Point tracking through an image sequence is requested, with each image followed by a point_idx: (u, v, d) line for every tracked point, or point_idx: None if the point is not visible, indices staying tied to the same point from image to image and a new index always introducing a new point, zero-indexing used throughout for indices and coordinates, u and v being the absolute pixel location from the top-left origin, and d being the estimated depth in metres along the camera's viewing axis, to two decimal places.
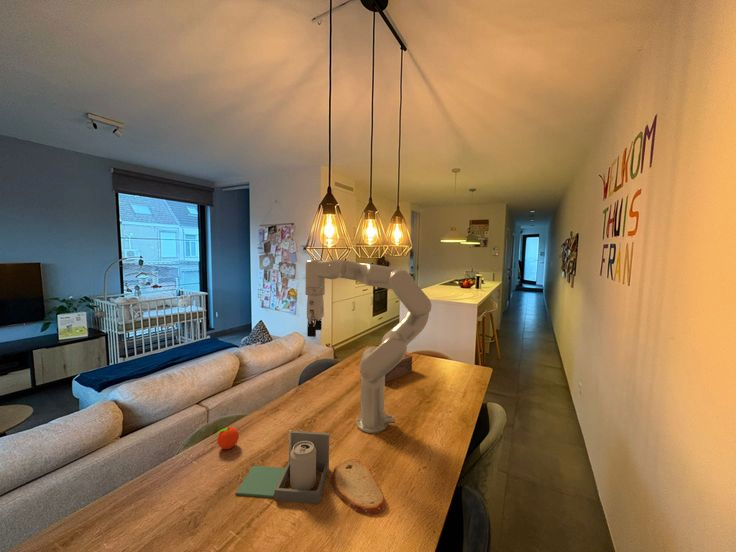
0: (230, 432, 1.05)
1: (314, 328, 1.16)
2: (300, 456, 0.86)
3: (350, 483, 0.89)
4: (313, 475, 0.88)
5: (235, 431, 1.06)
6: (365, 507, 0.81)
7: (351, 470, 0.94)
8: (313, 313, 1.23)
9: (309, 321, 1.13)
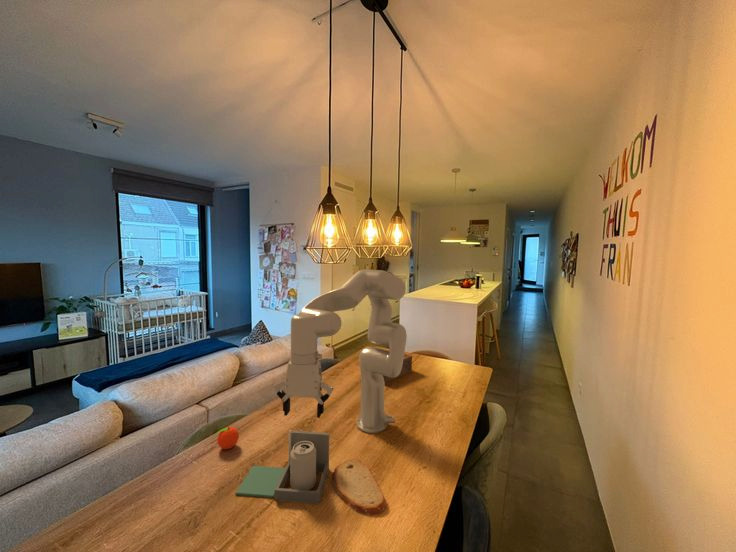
0: (230, 432, 1.05)
1: None
2: (300, 456, 0.86)
3: (351, 483, 0.89)
4: (313, 475, 0.88)
5: (235, 431, 1.06)
6: (364, 507, 0.81)
7: (352, 470, 0.94)
8: None
9: (330, 394, 0.87)
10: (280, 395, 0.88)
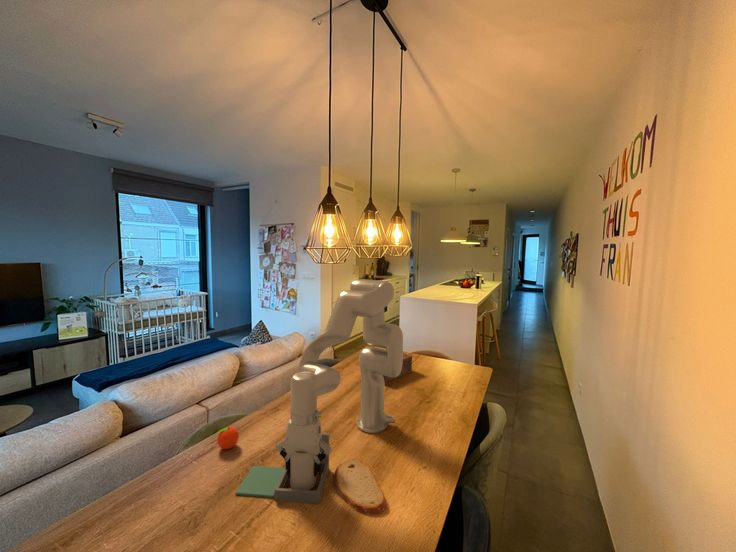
0: (230, 432, 1.05)
1: None
2: (300, 456, 0.86)
3: (352, 482, 0.89)
4: (313, 475, 0.88)
5: (235, 431, 1.06)
6: (364, 507, 0.81)
7: (353, 469, 0.95)
8: None
9: (327, 453, 0.89)
10: (283, 454, 0.89)
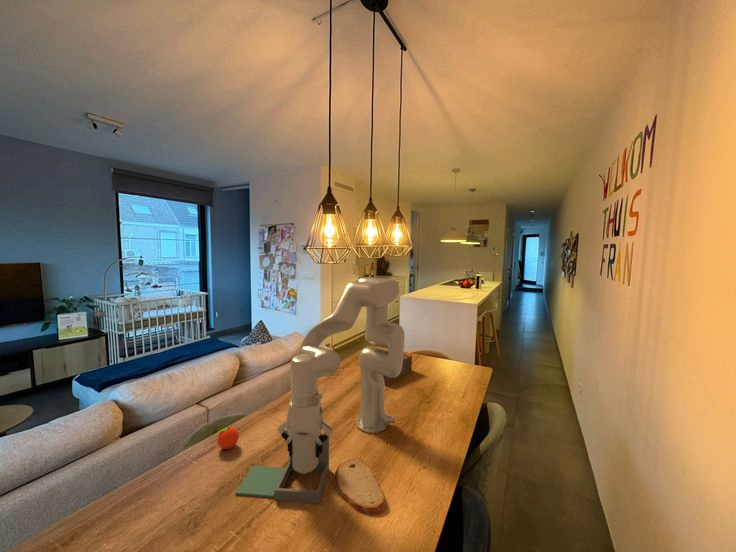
0: (230, 432, 1.05)
1: None
2: (302, 437, 0.86)
3: (352, 482, 0.89)
4: (315, 456, 0.89)
5: (235, 431, 1.06)
6: (364, 507, 0.81)
7: (354, 469, 0.95)
8: None
9: None
10: (284, 436, 0.89)
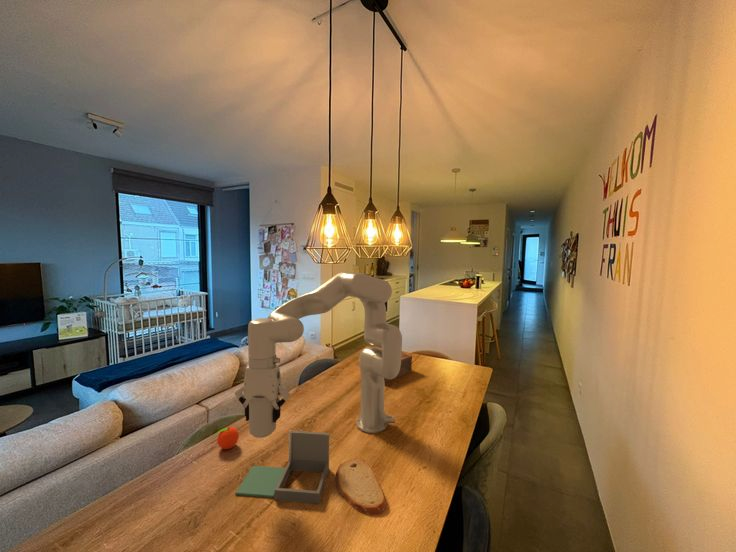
0: (230, 432, 1.05)
1: None
2: (258, 400, 0.86)
3: (353, 482, 0.89)
4: (272, 421, 0.88)
5: (235, 431, 1.06)
6: (364, 507, 0.81)
7: (355, 469, 0.95)
8: None
9: (286, 399, 0.89)
10: (242, 401, 0.89)
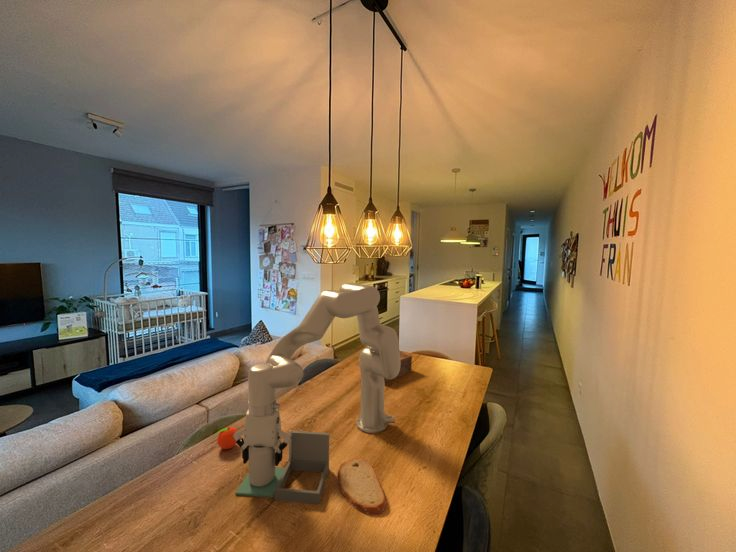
0: (230, 432, 1.05)
1: None
2: (257, 450, 0.87)
3: (354, 481, 0.90)
4: (271, 469, 0.89)
5: (235, 431, 1.06)
6: (364, 506, 0.81)
7: (357, 468, 0.95)
8: None
9: (288, 442, 0.90)
10: (239, 443, 0.90)
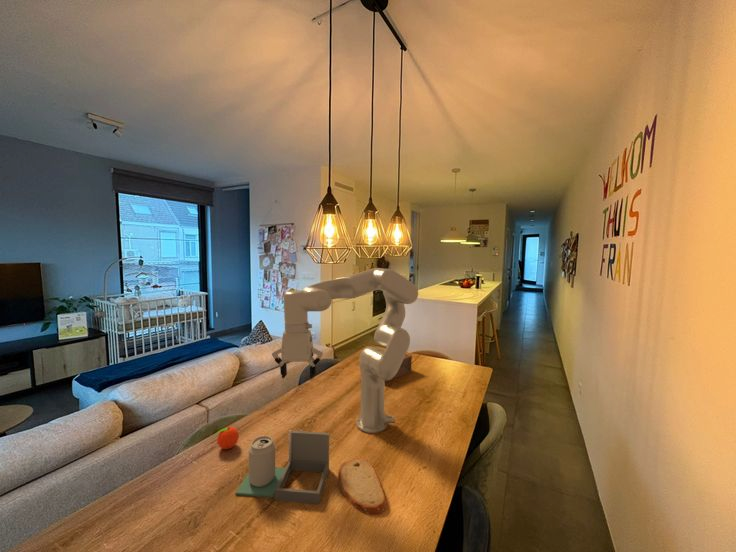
0: (230, 432, 1.05)
1: None
2: (257, 450, 0.87)
3: (355, 481, 0.90)
4: (271, 469, 0.89)
5: (235, 431, 1.06)
6: (364, 506, 0.81)
7: (358, 468, 0.95)
8: None
9: (320, 358, 1.02)
10: (277, 361, 1.02)
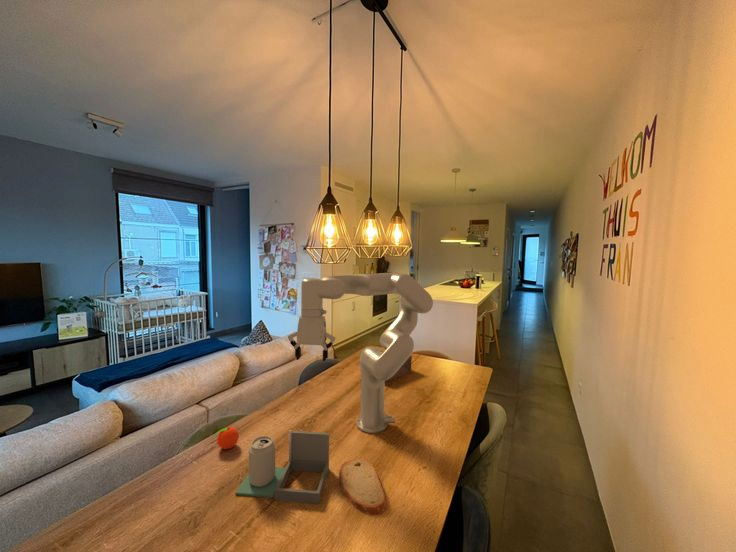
0: (230, 432, 1.05)
1: None
2: (257, 450, 0.87)
3: (355, 480, 0.90)
4: (271, 469, 0.89)
5: (235, 431, 1.06)
6: (364, 506, 0.81)
7: (359, 468, 0.95)
8: None
9: (333, 342, 1.09)
10: (293, 343, 1.09)
